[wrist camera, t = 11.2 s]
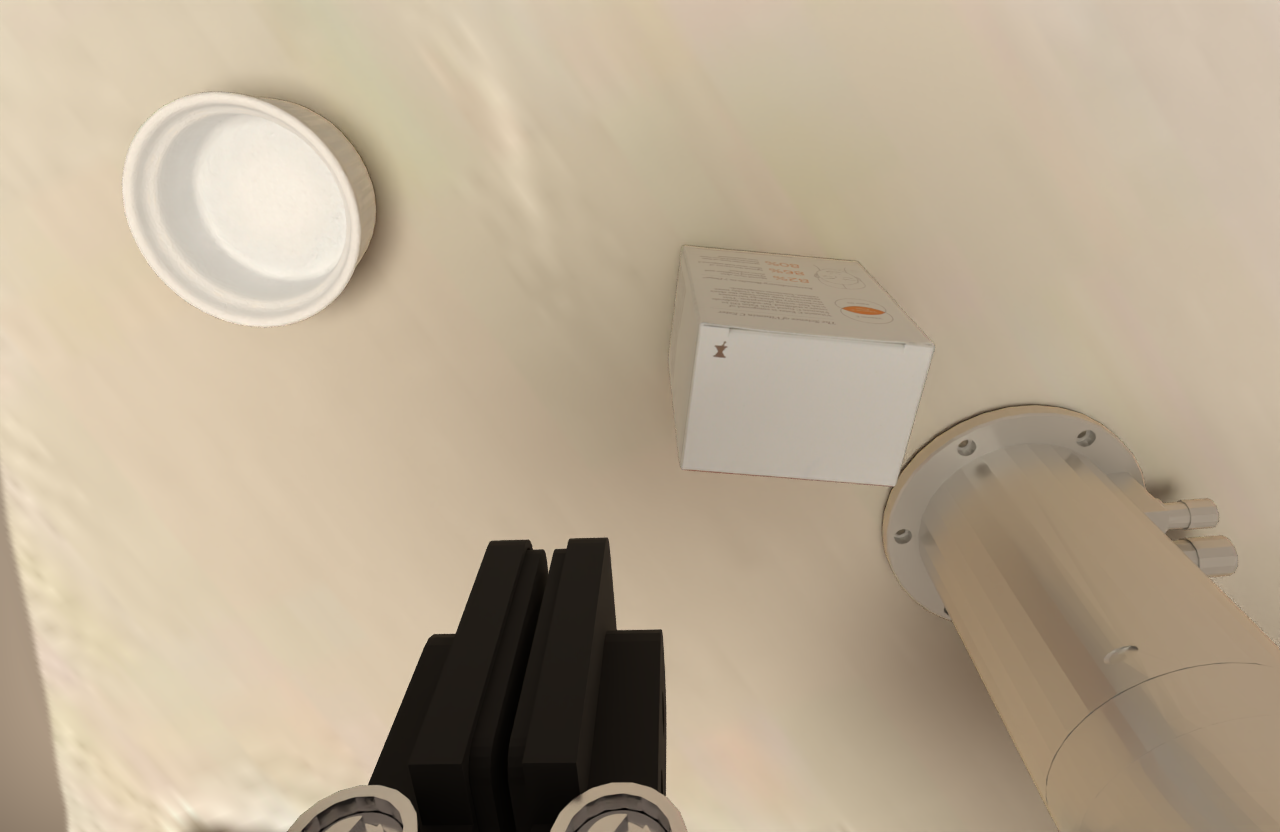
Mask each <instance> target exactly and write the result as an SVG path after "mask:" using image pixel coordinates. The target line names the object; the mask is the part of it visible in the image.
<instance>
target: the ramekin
mask: <svg viewBox="0 0 1280 832" xmlns="http://www.w3.org/2000/svg"><path fill="white" fill-rule="evenodd" d="M122 194H123V203H124V210H125V216H126V219H127V222H128V226H129V228H130V231H131V233H132V235H133V238H134V240H135V242H136V244H137V246H138V248H139V250H140V252H141V253H142V255H143V257H144V258H145V259H146V261H147V262H148V265H149V266H150V267H151V268H152V269H153V271H154V272H155V273H156V275H157V276H158V277H159V278H160V279H161V280H162V281H163V282H164V283H165V284H166V285H167V286H168V287H169V288H170V289H171V290H172V291H174V292H175V293H176V294H177V295H178V296H179V297H181V298H182V299H183V300H185V301H186V302H187V303H189V304H190V305H192V306H194V307H196V308H197V309H199V310H201V311H202V312H205V313H207V314H209V315H211V316H214V317H215V318H218V319H221V320H224V321H227V322H230V323H233V324H238V325H242V326H251V327H264V328H267V327H279V326H285V325H290V324H294V323H297V322H300V321H303V320H306V319H308V318H310V317H312V316H314V315H316V314H317V313H319V312H320V311H322V310H323V309H325V308H326V307H327V306H329V305H330V304H331V303H332V302H333V301H334V300H335V299H336V298H337V297H338V296H339V295H340V294H341V293H342V291H343V290H344V289H345V287H346V286H347V284H348V282H349V281H350V279H351V277H352V275H353V273H354V271H355V268H356V266H357V264H358V263H359V262H360V260H361V259H362V257H363V255H364V253H365V252H366V250H367V249H368V246H369V243H370V240H371V238H372V236H373V231H374V226H375V222H376V203H375V194H374V190H373V185H372V182H371V179H370V177H369V175H368V171H367V169H366V167H365V165H364V163H363V161H362V159H361V157H360V155H359V154H358V153H357V151H356V150H355V148H354V147H353V145H352V144H351V143H350V142H349V141H348V139H347V138H346V137H345V136H344V134H343V133H342V132H341V131H340V130H338V129H337V128H336V127H335V126H334V125H333V124H332V123H331V122H329V121H328V120H326V119H325V118H323V117H322V116H321V115H319V114H317V113H315V112H313V111H311V110H309V109H308V108H306V107H303V106H300V105H298V104H295V103H293V102H288V101H284V100H280V99H272V98H265V97H252V96H248V95H244V94H239V93H231V92H202V93H197V94H192V95H187V96H184V97H181V98H178V99H176V100H174V101H172V102H170V103H168V104H166V105H164V106H162V107H161V108H159V109H158V110H157V111H156V112H154V113H153V114H152V115H151V116H150V117H149V118H148V119H147V120H146V121H145V122H144V123H143V124H142V125H141V126H140V128H139V130H138V131H137V133H136V135H135V136H134V138H133V140H132V142H131V144H130V147H129V149H128V152H127V155H126V159H125V163H124V169H123V178H122Z"/></svg>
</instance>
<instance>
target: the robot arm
mask: <svg viewBox="0 0 1280 832" xmlns="http://www.w3.org/2000/svg"><path fill="white" fill-rule="evenodd" d="M962 441H963V442H962ZM1218 521H1219V512H1218V509H1217V506H1216V505H1215V503H1214V502H1213V500H1210V499H1208V498H1204V499H1191V500H1180V501H1177V502H1170V503H1163V502H1162V501H1161V500H1160V499H1158V498H1154V497H1153V496H1152V495H1151V494H1150V493H1149V492H1148V491H1147V490H1146V486H1145V482H1144V477H1143V473H1142V470H1141V468H1140V466H1139V465H1138V463H1137V461H1136V459H1135V457H1134V455H1133V453H1132V452H1131V451H1130V450H1129V449H1128V448H1127V447H1126V446H1125V444H1124V443H1123V442H1122V441H1121V440H1120V439H1119V438H1118V437H1117V436H1116V435H1114V434H1113V433H1112V432H1111V431H1110V430H1108V429H1107V428H1106V427H1105V426H1104V425H1102V424H1101V423H1099V422H1097V421H1095V420H1093V419H1091V418H1089V417H1087V416H1086V415H1084V414H1081V413H1078V412H1074V411H1071V410H1067V409H1064V408H1060V407H1051V406H1040V405H1029V406H1017V407H1008V408H1004V409H999V410H995V411H991V412H987V413H983V414H981V415H978V416H976V417H974V418H971V419H969V420H967V421H964V422H962V423H959V424H958V425H956V426H954V427H953V428H951V429H949V430H948V431H946V432H945V433H943V434H941V435H940V436H938V437H936V438H935V439H934V440H933V441H932V442H931V443H929V444H928V445H927V446H926V447H925V448H924V449H922V450H921V451H920V452H919V453H918V454H917V455H916V456H915V457H914V458H913V460H912V461H911V462H910V463H909V464H908V466H907V467H906V468H905V469H904V471H903V472H902V473H901V475H900V477H899V478H898V480H897V484H896V485H895V486H894V487H893V489H892V491H891V493H890V496H889V499H888V502H887V505H886V508H885V511H884V518H883V528H882V536H883V543H884V550H885V554H886V556H887V559H888V561H889V564H890V567H891V569H892V571H893V573H894V575H895V577H896V579H897V580H898V582H899V584H900V586H901V587H902V588H903V589H904V590H905V592H906V593H907V594H908V595H909V596H910V597H911V598H912V599H913V600H914V601H915V602H916V603H918V604H919V605H921V606H922V607H923V608H925V609H926V610H928V611H929V612H931V613H933V614H935V615H937V616H939V617H941V618H944V619H946V620H950V621H952V622H953V624H954V626H955V628H956V630H957V632H958V634H959V636H960V638H961V640H962V642H963V643H964V645H965V647H966V649H967V651H968V653H969V655H970V657H971V659H972V661H973V663H974V665H975V667H976V669H977V671H978V673H979V675H980V677H981V679H982V681H983V683H984V685H985V687H986V689H987V691H988V693H989V695H990V697H991V699H992V701H993V703H994V705H995V707H996V709H997V711H998V713H999V715H1000V717H1001V719H1002V721H1003V723H1004V725H1005V726H1006V728H1007V730H1008V732H1009V734H1010V736H1011V738H1012V740H1013V742H1014V744H1015V746H1016V748H1017V750H1018V752H1019V754H1020V756H1021V758H1022V760H1023V762H1024V764H1025V766H1026V768H1027V770H1028V772H1029V774H1030V776H1031V778H1032V780H1033V782H1034V784H1035V786H1036V788H1037V790H1038V792H1039V794H1040V796H1041V798H1042V800H1043V802H1044V804H1045V806H1046V808H1047V810H1048V811H1049V813H1050V815H1051V817H1052V819H1053V821H1054V823H1055V824H1056V826H1057V828H1058V830H1059V832H1280V648H1279V647H1278V646H1277V645H1276V644H1275V643H1274V642H1273V641H1272V640H1271V639H1270V638H1269V637H1268V636H1267V635H1266V634H1265V633H1264V632H1263V631H1262V630H1261V629H1260V628H1259V627H1258V626H1257V625H1256V624H1255V623H1254V622H1253V621H1252V620H1251V619H1250V618H1249V617H1248V616H1247V615H1246V614H1245V613H1244V612H1243V611H1242V610H1241V609H1240V608H1239V607H1238V606H1237V605H1236V604H1235V603H1234V602H1233V601H1232V600H1231V599H1230V598H1229V597H1228V596H1227V595H1226V594H1225V593H1224V592H1223V591H1222V590H1221V589H1220V588H1219V587H1218V586H1217V585H1216V584H1215V583H1214V582H1213V581H1212V580H1211V579H1210V578H1209V577H1220V576H1230V575H1232V574H1233V573H1235V571H1236V569H1237V566H1238V556H1237V553H1236V550H1235V547H1234V545H1233V544H1232V543H1231V541H1230V540H1229V539H1228V538H1226V537H1224V536H1223V535H1219V536H1206V537H1192V538H1183V539H1179V540H1176V541H1172V540H1171V539H1170V538H1169V537H1168V536H1167V535H1166V532H1167V531H1168V530H1170V529H1183V530H1189V529H1202V528H1212V527H1215V526H1216V525H1217V523H1218ZM287 832H687V829H686V826H685V823H684V821H683V818H682V815H681V813H680V811H679V810H678V809H677V808H676V807H675V805H674V804H673V803H672V802H671V801H670V800H669V798H667V797H666V687H665V665H664V647H663V634H662V630H617V628H616V616H615V604H614V592H613V581H612V569H611V557H610V547H609V540H608V538H574V539H569V541H568V545H567V549H555V550H554V553H553V557H552V561H551V565H550V570H549V574H548V567H547V559H546V553H545V551H544V550H543V549H542V550H533V548H532V544H531V542H530V540H501V541H491V542H490V543H489V545H488V547H487V549H486V552H485V555H484V558H483V560H482V563H481V566H480V569H479V571H478V574H477V577H476V580H475V582H474V585H473V588H472V591H471V593H470V596H469V599H468V601H467V604H466V607H465V610H464V612H463V615H462V618H461V621H460V623H459V626H458V629H457V632H456V634H434V635H432V636H431V637H430V638H429V639H428V641H427V643H426V645H425V647H424V649H423V652H422V654H421V657H420V659H419V661H418V664H417V666H416V669H415V671H414V674H413V676H412V679H411V681H410V683H409V686H408V688H407V691H406V693H405V696H404V698H403V701H402V703H401V706H400V708H399V710H398V713H397V715H396V718H395V720H394V723H393V725H392V728H391V730H390V732H389V735H388V737H387V740H386V742H385V745H384V747H383V750H382V752H381V754H380V757H379V759H378V762H377V764H376V767H375V769H374V772H373V774H372V777H371V779H370V781H369V784H368V785H360V786H356V787H352V788H348V789H345V790H341V791H338V792H336V793H334V794H332V795H330V796H328V797H326V798H324V799H322V800H320V801H318V802H317V803H316V804H314V805H313V806H312V807H311V808H309V809H308V810H307V811H305V812H304V813H303V814H302V815H300V817H299V818H298V819H297V820H296V821H295V823H294V824H293V825H292V826H291V827H290V829H289V830H288V831H287Z"/></svg>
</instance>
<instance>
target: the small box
mask: <svg viewBox="0 0 1280 832" xmlns="http://www.w3.org/2000/svg"><path fill="white" fill-rule="evenodd" d="M934 350H935V345H934V343H933V342H932V341H931V340H930V339H929V338H928V337H927V335H926V334H925V333H924V332H923V331H922V330H921V329H920V328H919V327H918V326H917V324H916V323H915V322H914V321H913V320H912V319H911V318H910V317H909V316H908V315H907V314H906V312H905V311H904V310H903V309H902V308H901V307H900V306H899V305H898V304H897V303H896V302H895V301H894V300H893V299H892V298H891V296H890V295H889V294H888V293H887V292H886V291H885V290H884V289H883V288H882V287H881V286H880V285H879V283H878V282H877V281H876V280H875V279H874V278H873V277H872V276H871V275H870V274H869V273H868V272H867V271H866V269H865V268H864V267H863V266H862V265H861V264H860V263H859V262H858V261H848V260H837V259H826V258H815V257H804V256H793V255H782V254H771V253H761V252H751V251H740V250H727V249H717V248H707V247H697V246H689V245H683V246H682V248H681V256H680V265H679V273H678V281H677V289H676V297H675V305H674V314H673V322H672V330H671V338H670V346H669V354H668V365H669V375H670V384H671V394H672V403H673V412H674V420H675V428H676V440H677V449H678V457H679V463H680V467H681V469H682V470H689V471H702V472H714V473H726V474H740V475H752V476H766V477H779V478H791V479H802V480H816V481H828V482H840V483H853V484H864V485H877V486H888V487H894V486H895V485H896V484H897V480H898V477H899V473H900V470H901V466H902V463H903V459H904V456H905V452H906V449H907V445H908V442H909V438H910V435H911V431H912V428H913V424H914V421H915V417H916V414H917V410H918V406H919V403H920V399H921V396H922V392H923V389H924V385H925V382H926V378H927V375H928V371H929V367H930V364H931V360H932V357H933V353H934Z"/></svg>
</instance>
